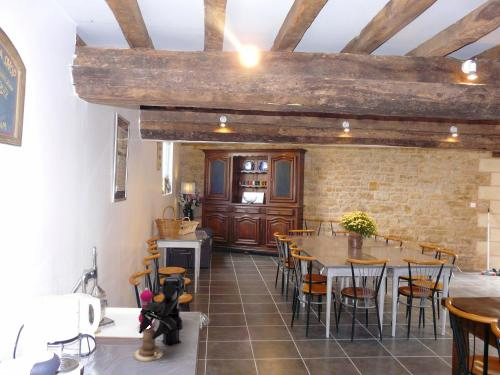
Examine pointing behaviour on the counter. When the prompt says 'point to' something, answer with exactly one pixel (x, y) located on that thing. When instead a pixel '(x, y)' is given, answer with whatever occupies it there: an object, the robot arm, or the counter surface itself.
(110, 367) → the counter surface
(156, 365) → the counter surface
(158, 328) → the robot arm
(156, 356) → the plate
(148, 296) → the pepper mill
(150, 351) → the brown flanged knob
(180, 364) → the counter surface
